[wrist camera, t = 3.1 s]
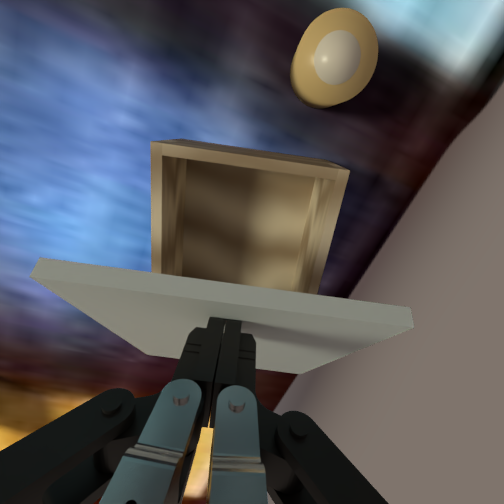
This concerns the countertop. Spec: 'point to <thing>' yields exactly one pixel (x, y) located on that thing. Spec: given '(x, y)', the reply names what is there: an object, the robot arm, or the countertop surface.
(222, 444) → the robot arm
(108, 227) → the countertop surface
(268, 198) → the crate
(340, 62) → the tan rounded piece
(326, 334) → the lid
